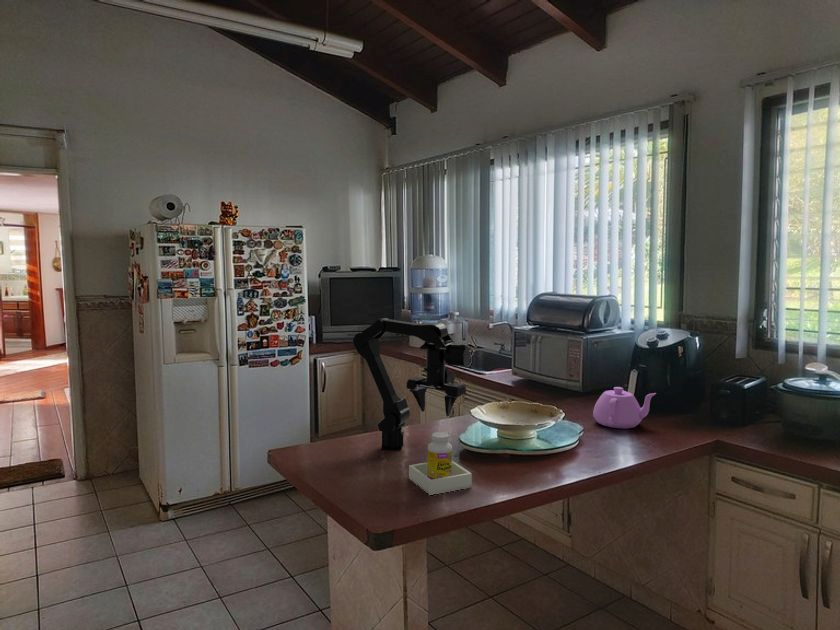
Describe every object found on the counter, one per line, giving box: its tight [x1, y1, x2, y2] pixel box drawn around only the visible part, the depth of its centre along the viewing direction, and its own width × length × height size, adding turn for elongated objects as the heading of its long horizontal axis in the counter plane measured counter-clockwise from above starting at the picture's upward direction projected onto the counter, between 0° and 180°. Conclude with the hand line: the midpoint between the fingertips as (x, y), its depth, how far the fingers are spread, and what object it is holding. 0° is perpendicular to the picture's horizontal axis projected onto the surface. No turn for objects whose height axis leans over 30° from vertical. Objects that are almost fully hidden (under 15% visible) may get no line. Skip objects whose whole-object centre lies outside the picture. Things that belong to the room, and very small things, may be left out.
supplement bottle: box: [426, 431, 453, 480], centre depth 158 cm, size 7×7×13 cm
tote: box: [408, 460, 473, 496], centre depth 159 cm, size 13×13×4 cm
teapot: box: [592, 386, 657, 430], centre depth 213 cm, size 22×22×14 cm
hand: (435, 413), depth 180 cm, fingers open, 9 cm apart
